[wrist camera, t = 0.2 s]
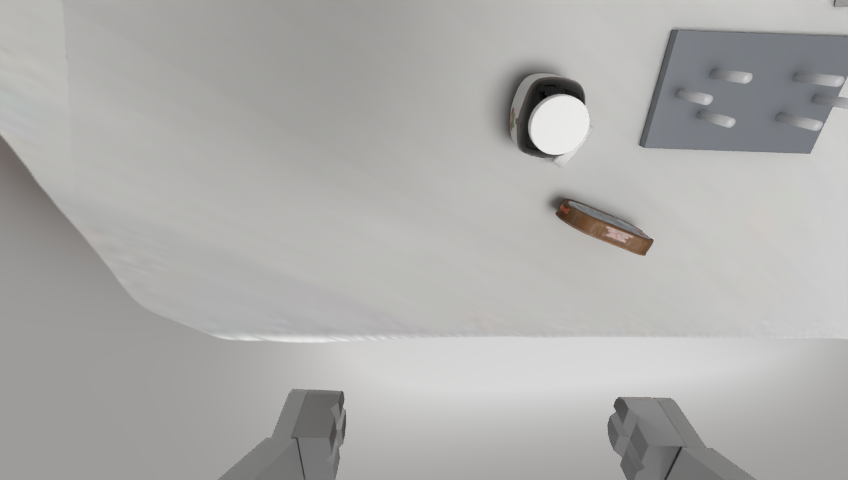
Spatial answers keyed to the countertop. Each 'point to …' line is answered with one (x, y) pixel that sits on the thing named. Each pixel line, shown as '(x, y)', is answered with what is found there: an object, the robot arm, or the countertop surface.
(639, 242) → the tin
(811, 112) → the pin tray
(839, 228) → the countertop surface
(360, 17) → the countertop surface
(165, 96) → the countertop surface
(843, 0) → the medicine bottle
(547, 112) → the spread jar
